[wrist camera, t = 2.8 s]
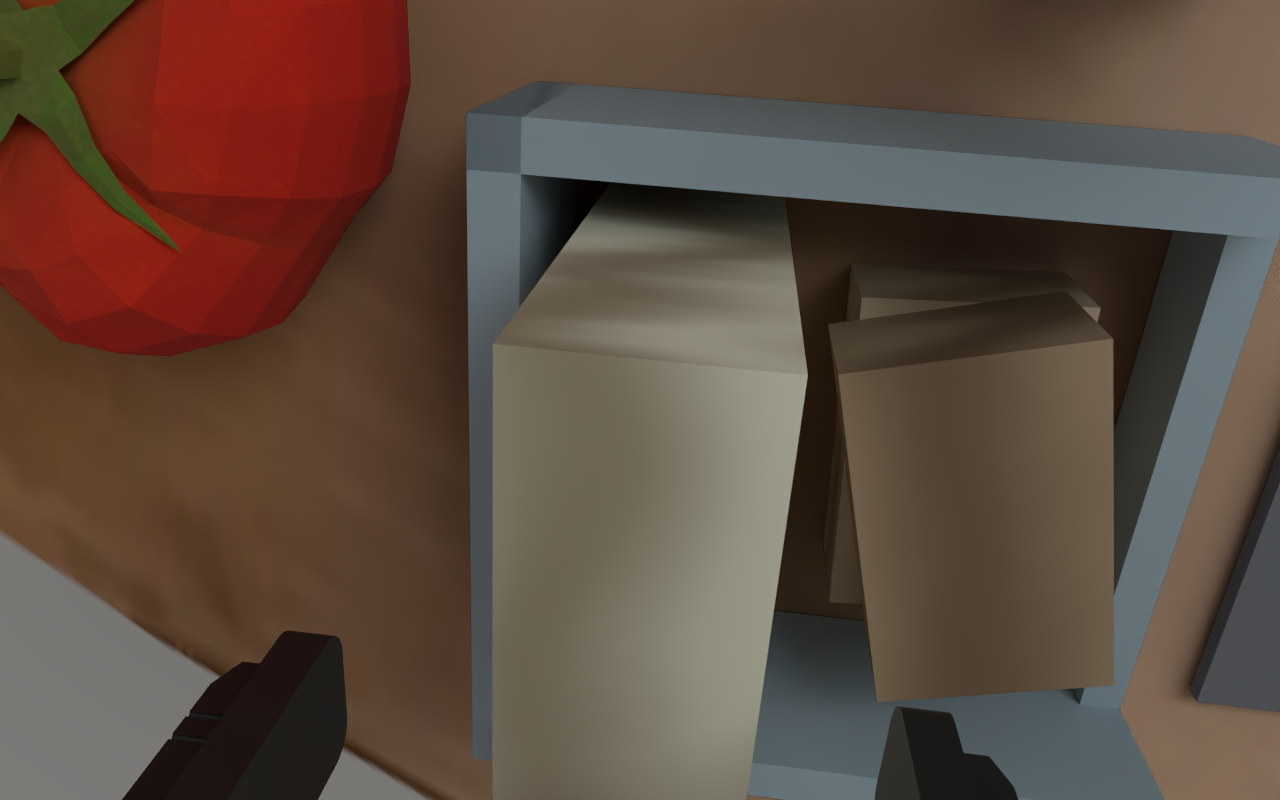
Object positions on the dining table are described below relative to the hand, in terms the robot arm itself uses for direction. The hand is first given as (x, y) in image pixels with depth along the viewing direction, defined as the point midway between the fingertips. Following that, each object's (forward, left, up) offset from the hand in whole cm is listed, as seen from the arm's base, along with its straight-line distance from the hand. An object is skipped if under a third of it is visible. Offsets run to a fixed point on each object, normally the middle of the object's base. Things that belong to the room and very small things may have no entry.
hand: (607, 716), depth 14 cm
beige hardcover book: (0, 0, -13) cm, 13 cm away
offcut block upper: (-7, 0, -10) cm, 12 cm away
